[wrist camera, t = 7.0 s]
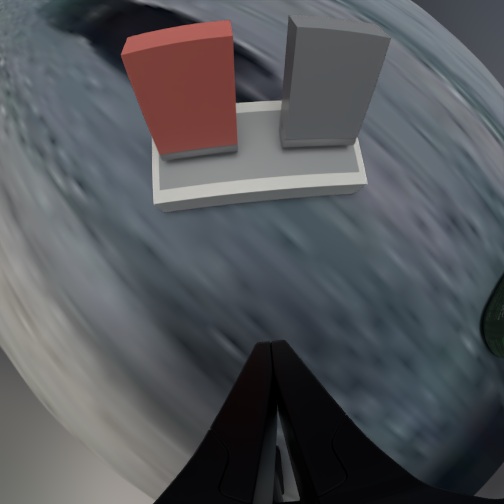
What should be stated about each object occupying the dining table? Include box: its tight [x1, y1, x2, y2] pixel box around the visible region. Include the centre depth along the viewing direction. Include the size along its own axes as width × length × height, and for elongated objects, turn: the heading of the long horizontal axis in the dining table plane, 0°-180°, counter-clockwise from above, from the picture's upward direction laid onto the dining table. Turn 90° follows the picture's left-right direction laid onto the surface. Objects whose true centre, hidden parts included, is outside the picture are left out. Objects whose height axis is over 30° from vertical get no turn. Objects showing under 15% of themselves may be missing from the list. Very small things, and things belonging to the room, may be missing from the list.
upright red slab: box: [121, 20, 238, 161], centre depth 15 cm, size 2×5×9 cm, turn 96°
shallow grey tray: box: [152, 101, 368, 212], centre depth 21 cm, size 7×15×3 cm, turn 97°
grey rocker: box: [279, 15, 391, 147], centre depth 15 cm, size 2×5×9 cm, turn 96°
